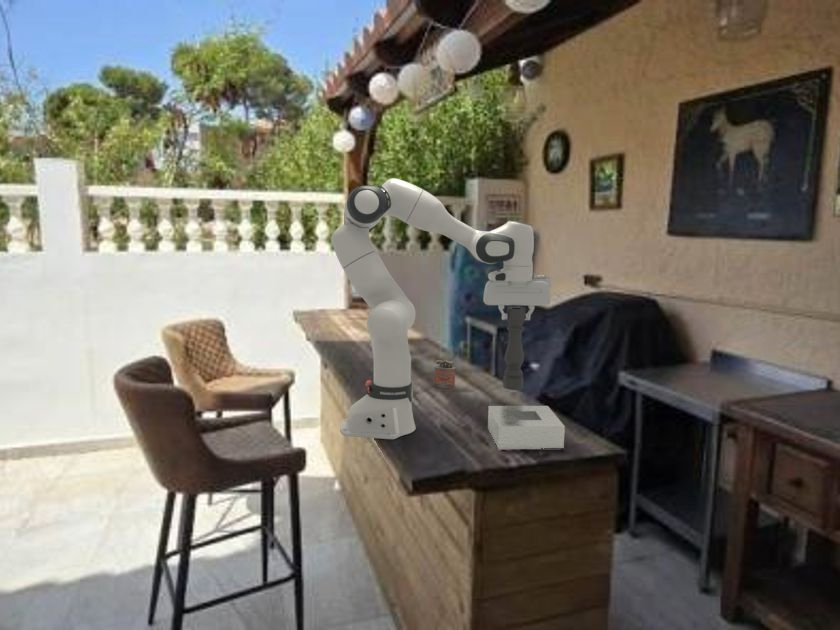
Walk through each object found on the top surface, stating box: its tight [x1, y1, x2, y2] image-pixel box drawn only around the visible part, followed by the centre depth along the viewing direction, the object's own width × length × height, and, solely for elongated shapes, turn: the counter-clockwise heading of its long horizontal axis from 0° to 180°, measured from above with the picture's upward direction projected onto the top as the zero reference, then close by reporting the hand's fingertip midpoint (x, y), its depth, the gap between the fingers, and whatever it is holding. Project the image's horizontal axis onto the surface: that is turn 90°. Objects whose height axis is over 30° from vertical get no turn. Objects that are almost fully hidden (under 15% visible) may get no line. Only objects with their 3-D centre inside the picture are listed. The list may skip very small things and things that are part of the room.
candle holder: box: [502, 306, 527, 391], centre depth 186 cm, size 6×6×25 cm
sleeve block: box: [487, 405, 566, 450], centre depth 172 cm, size 18×18×7 cm
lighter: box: [433, 359, 456, 389], centre depth 225 cm, size 8×3×10 cm, turn 74°
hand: (515, 319), depth 184 cm, fingers closed on candle holder, 6 cm apart
